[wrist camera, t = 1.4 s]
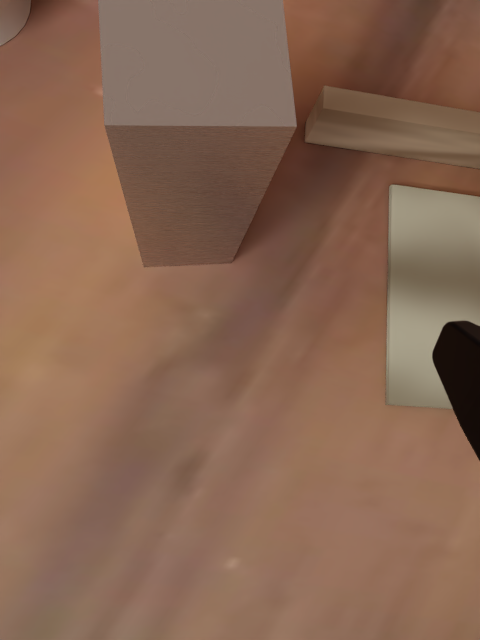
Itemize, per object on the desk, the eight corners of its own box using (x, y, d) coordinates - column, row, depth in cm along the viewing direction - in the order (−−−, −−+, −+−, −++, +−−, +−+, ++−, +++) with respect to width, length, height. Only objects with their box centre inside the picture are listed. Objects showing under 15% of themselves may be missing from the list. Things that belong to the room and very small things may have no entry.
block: (231, 263, 22) (296, 126, 10) (143, 267, 21) (104, 125, 9) (219, 127, 23) (266, -143, 11) (135, 126, 22) (90, -163, 10)
